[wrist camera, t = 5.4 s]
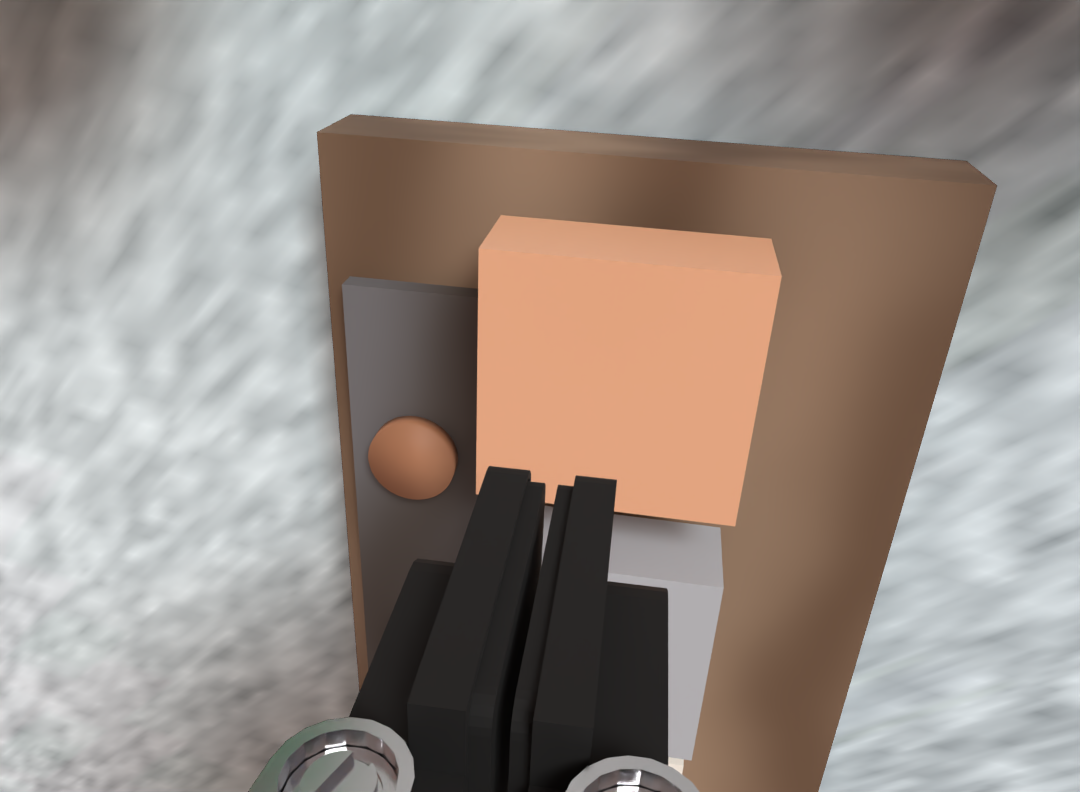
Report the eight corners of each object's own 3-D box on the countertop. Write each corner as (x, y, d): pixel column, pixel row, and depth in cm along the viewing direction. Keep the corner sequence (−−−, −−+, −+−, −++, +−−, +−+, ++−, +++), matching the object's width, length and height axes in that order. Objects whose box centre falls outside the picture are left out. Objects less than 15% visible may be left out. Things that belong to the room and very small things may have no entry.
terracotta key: (770, 238, 16) (781, 275, 14) (730, 469, 18) (735, 526, 16) (501, 215, 16) (478, 248, 15) (495, 441, 19) (476, 494, 17)
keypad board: (966, 161, 18) (1013, 198, 15) (789, 805, 27) (799, 895, 25) (351, 114, 19) (299, 141, 17) (386, 741, 29) (357, 820, 26)
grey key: (720, 527, 19) (724, 587, 17) (691, 692, 21) (691, 760, 19) (494, 499, 19) (475, 554, 18) (491, 663, 22) (473, 726, 20)
